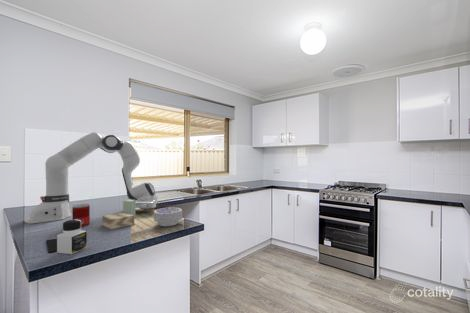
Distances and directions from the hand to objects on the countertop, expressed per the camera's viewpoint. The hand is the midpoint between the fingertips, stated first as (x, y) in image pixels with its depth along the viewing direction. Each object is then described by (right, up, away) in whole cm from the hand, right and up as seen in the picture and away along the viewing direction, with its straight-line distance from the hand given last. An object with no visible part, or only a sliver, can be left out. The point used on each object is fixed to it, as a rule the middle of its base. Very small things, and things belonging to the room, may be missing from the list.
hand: (133, 206), depth 150 cm
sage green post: (0, -6, -6) cm, 8 cm away
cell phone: (-11, -7, -49) cm, 50 cm away
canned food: (-21, -6, -19) cm, 29 cm away
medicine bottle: (-1, -6, -55) cm, 56 cm away
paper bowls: (+27, -6, -19) cm, 33 cm away
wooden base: (0, -6, -19) cm, 20 cm away
